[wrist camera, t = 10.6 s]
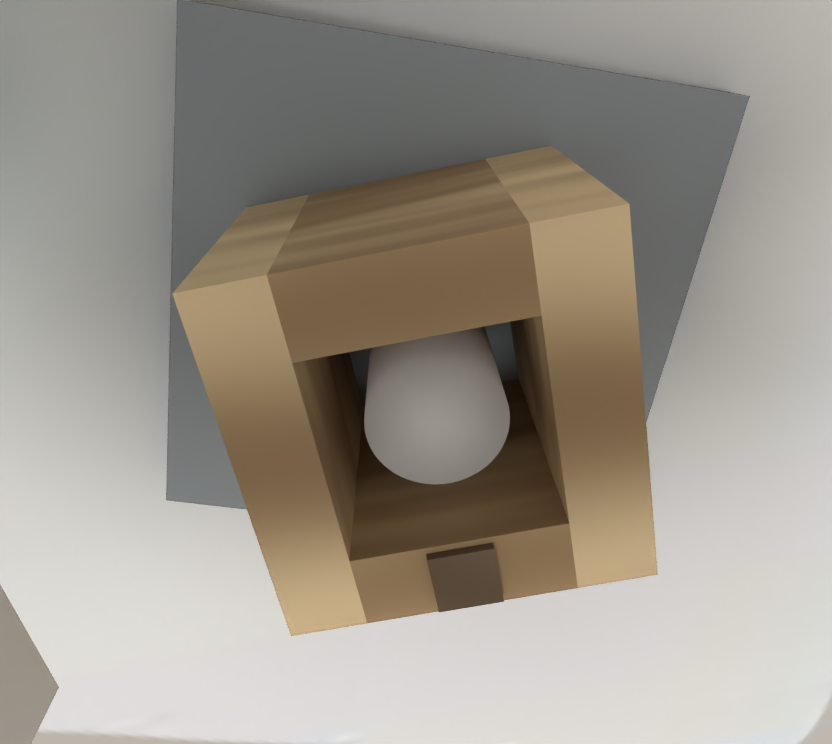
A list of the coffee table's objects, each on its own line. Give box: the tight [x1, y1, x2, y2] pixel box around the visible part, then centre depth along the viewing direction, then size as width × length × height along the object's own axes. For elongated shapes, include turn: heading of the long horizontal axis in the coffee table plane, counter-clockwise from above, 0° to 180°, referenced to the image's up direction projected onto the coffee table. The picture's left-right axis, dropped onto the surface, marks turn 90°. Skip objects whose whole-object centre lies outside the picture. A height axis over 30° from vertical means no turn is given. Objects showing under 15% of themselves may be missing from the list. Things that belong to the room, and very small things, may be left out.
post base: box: [166, 0, 750, 509], centre depth 19 cm, size 14×14×7 cm
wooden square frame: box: [172, 146, 657, 636], centre depth 18 cm, size 8×8×7 cm
